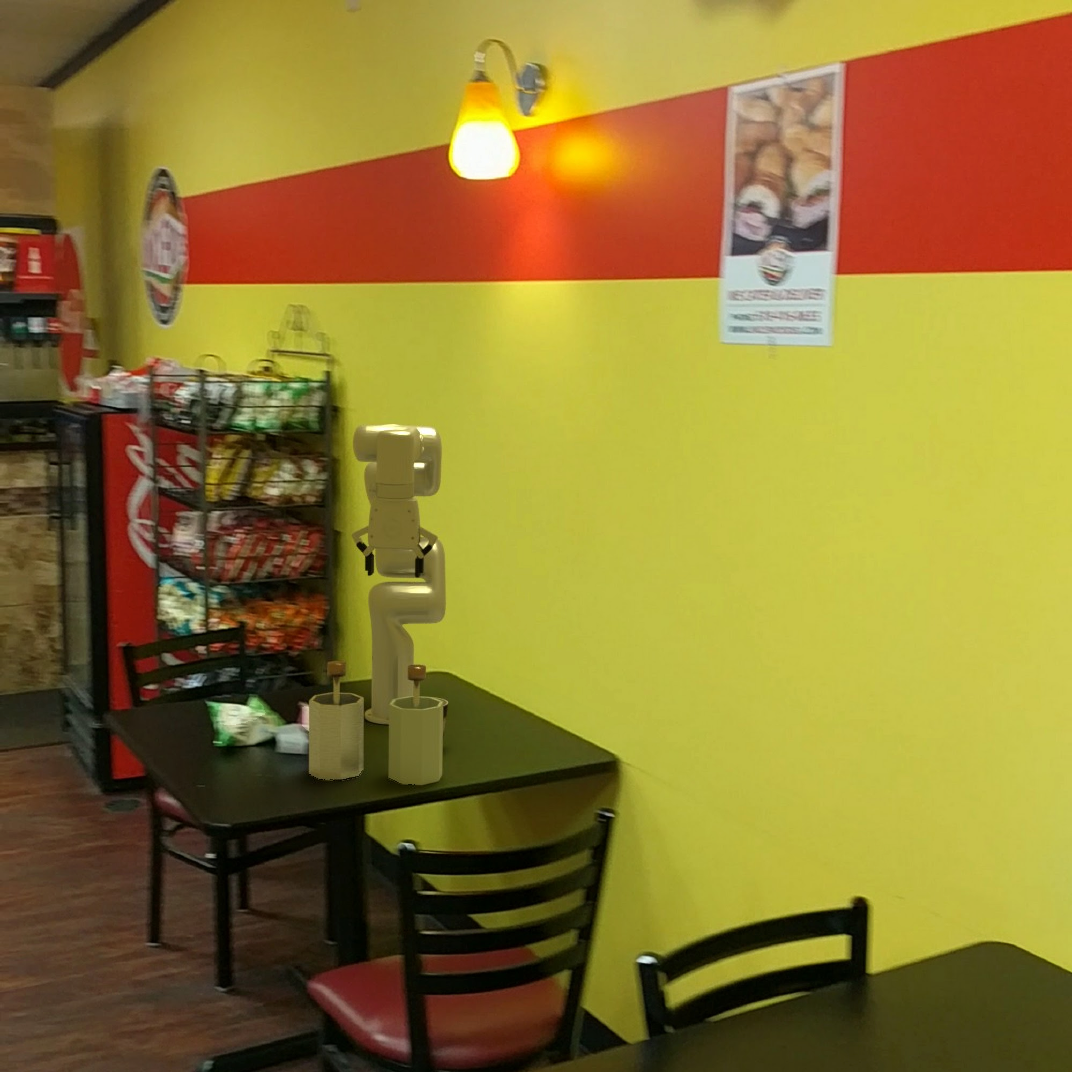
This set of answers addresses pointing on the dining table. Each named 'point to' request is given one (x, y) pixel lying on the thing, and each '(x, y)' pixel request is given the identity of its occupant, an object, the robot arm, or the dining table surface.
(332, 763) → the beige tall hollow piece
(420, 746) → the cup
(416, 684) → the sage plunger
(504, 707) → the dining table surface
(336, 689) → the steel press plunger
